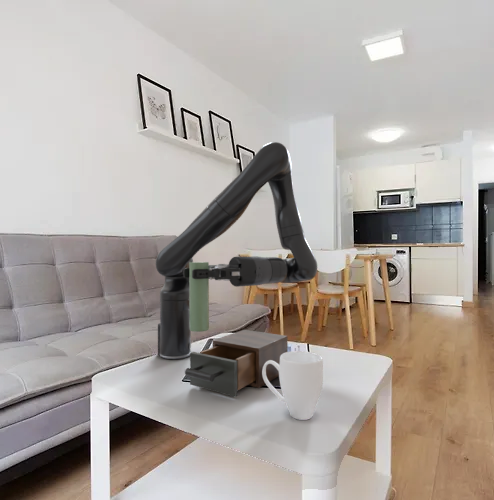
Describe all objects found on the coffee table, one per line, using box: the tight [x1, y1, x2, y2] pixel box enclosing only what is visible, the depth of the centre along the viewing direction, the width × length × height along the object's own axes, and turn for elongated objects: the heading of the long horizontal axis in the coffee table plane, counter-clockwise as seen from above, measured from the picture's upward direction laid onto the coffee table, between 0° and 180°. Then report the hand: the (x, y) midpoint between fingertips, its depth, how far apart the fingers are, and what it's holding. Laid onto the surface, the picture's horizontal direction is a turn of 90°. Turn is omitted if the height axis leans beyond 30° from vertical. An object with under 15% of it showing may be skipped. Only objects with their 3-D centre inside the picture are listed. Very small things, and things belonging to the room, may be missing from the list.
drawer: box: [184, 345, 256, 398], centre depth 85 cm, size 18×13×7 cm
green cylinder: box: [189, 261, 210, 333], centre depth 86 cm, size 5×5×16 cm
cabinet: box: [212, 329, 289, 389], centre depth 95 cm, size 15×14×9 cm
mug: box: [262, 350, 324, 421], centre depth 72 cm, size 12×8×11 cm
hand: (188, 273), depth 85 cm, fingers closed on green cylinder, 4 cm apart
